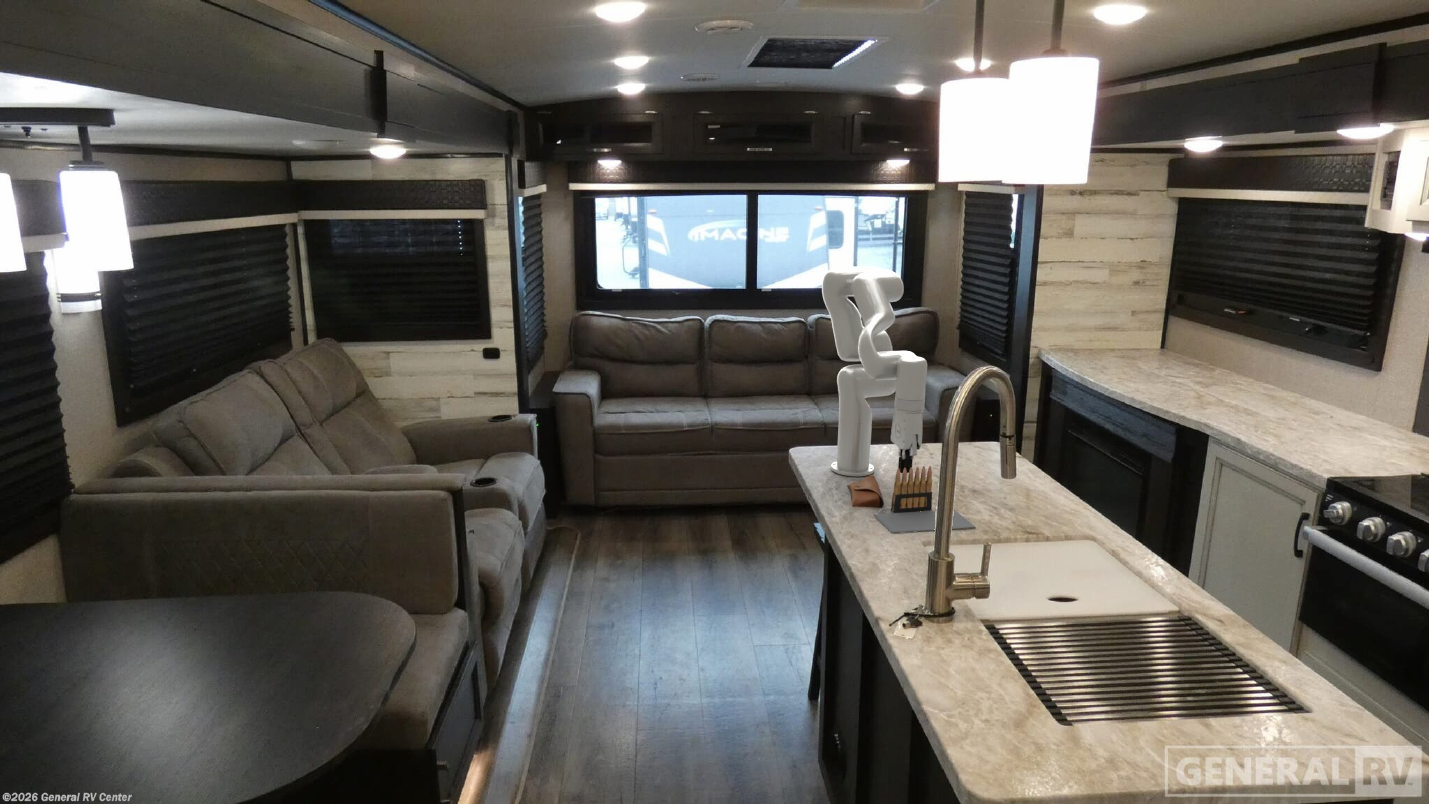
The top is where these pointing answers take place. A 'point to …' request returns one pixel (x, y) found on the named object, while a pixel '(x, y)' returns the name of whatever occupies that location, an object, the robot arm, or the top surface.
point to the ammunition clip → (912, 492)
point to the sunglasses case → (866, 493)
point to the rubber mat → (918, 521)
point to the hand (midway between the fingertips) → (904, 471)
